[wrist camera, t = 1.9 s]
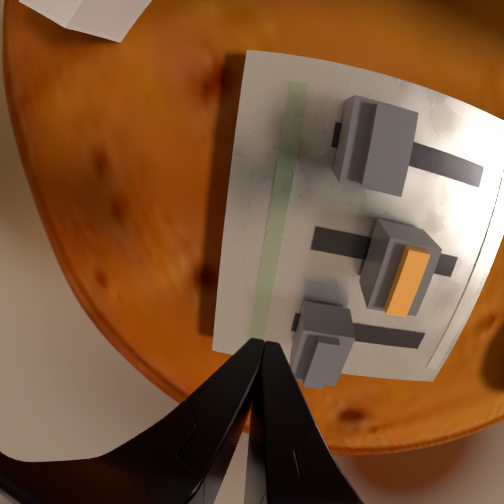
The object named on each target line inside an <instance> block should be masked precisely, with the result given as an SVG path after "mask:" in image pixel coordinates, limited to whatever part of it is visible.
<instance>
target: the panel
mask: <svg viewBox="0 0 504 504" xmlns="http://www.w3.org/2000/svg"><path fill="white" fill-rule="evenodd" d="M354 95H357V96H361V97H365V98H369V99H373V100H377V101H381V102H384V103H388V104H391V105H395V106H398V107H402V108H405V109H408V110H411V111H414V112H418V113H419V114H418V120H417V126H416V132H415V137H414V142H413V147H412V152H411V157H410V162H409V166H408V171H407V175H406V180H405V184H404V188H403V192H402V196H401V197H398V196H394V195H390V194H386V193H382V192H378V191H373V190H369V189H365V188H360V187H356V186H351V185H347V184H342V183H339V182H338V180H337V178H336V177H335V175H334V173H333V169H334V164H335V158H336V153H337V148H338V142H339V136H340V131H341V125H342V119H343V113H344V107H345V100H346V99H348V98H350V97H352V96H354ZM377 219H381V220H386V221H390V222H394V223H399V224H403V225H407V226H411V227H415V228H420V229H423V230H424V231H425V232H426V233H427V234H428V235H429V236H430V237H431V238H432V239H433V240H434V241H435V242H436V243H437V244H438V245H439V247H440V248H441V249H442V252H441V255H440V258H439V260H438V263H437V266H436V269H435V271H434V274H433V276H432V279H431V282H430V284H429V287H428V289H427V292H426V294H425V297H424V299H423V301H422V304H421V306H420V308H419V311H418V313H417V315H416V316H411V315H407V316H406V317H400V316H393V315H387V314H385V311H378V310H372V309H367V307H366V304H365V300H364V297H363V293H362V290H361V286H360V283H359V280H360V276H361V273H362V270H363V267H364V263H365V260H366V257H367V253H368V250H369V246H370V243H371V239H372V236H373V232H374V228H375V225H376V221H377ZM503 233H504V121H503V120H501V119H499V118H497V117H495V116H493V115H491V114H489V113H487V112H484V111H482V110H480V109H478V108H476V107H473V106H471V105H469V104H467V103H464V102H462V101H459V100H457V99H455V98H452V97H450V96H447V95H444V94H442V93H439V92H436V91H434V90H431V89H428V88H425V87H422V86H420V85H417V84H414V83H411V82H407V81H404V80H401V79H398V78H394V77H391V76H388V75H384V74H381V73H377V72H373V71H369V70H365V69H361V68H357V67H353V66H349V65H344V64H340V63H335V62H330V61H325V60H320V59H314V58H308V57H302V56H296V55H289V54H281V53H273V52H265V51H255V50H247V53H246V60H245V66H244V73H243V80H242V87H241V94H240V101H239V108H238V116H237V123H236V131H235V138H234V146H233V154H232V162H231V170H230V178H229V187H228V195H227V204H226V213H225V222H224V231H223V240H222V250H221V260H220V269H219V280H218V290H217V301H216V312H215V323H214V335H213V347H212V350H213V351H218V352H222V353H227V354H231V355H234V354H235V353H236V352H237V351H238V350H239V349H240V348H241V347H242V346H243V345H244V344H245V343H246V342H247V341H248V340H249V339H250V338H258V339H263V340H264V341H265V342H266V341H267V340H268V341H273V342H278V343H280V345H281V347H282V349H283V352H284V354H285V356H286V358H287V361H288V363H289V365H290V354H291V347H292V343H293V340H294V336H295V332H296V329H297V325H298V321H299V317H300V314H301V310H302V306H303V302H304V301H308V302H313V303H319V304H325V305H331V306H337V307H342V308H348V309H350V312H351V317H352V322H353V327H354V333H355V341H354V343H353V346H352V348H351V350H350V353H349V355H348V358H347V360H346V362H345V365H344V367H343V369H342V371H341V373H342V374H350V375H359V376H368V377H378V378H389V379H401V380H415V381H432V382H433V380H434V378H435V377H436V375H437V374H438V372H439V370H440V369H441V367H442V365H443V364H444V362H445V360H446V359H447V357H448V355H449V354H450V352H451V350H452V348H453V346H454V345H455V343H456V341H457V339H458V337H459V335H460V334H461V332H462V330H463V328H464V326H465V324H466V322H467V320H468V318H469V316H470V314H471V312H472V310H473V308H474V305H475V303H476V301H477V299H478V297H479V295H480V292H481V290H482V288H483V285H484V283H485V281H486V278H487V276H488V273H489V271H490V268H491V266H492V263H493V261H494V258H495V255H496V253H497V250H498V247H499V244H500V242H501V239H502V236H503ZM264 345H265V344H264Z"/></svg>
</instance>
